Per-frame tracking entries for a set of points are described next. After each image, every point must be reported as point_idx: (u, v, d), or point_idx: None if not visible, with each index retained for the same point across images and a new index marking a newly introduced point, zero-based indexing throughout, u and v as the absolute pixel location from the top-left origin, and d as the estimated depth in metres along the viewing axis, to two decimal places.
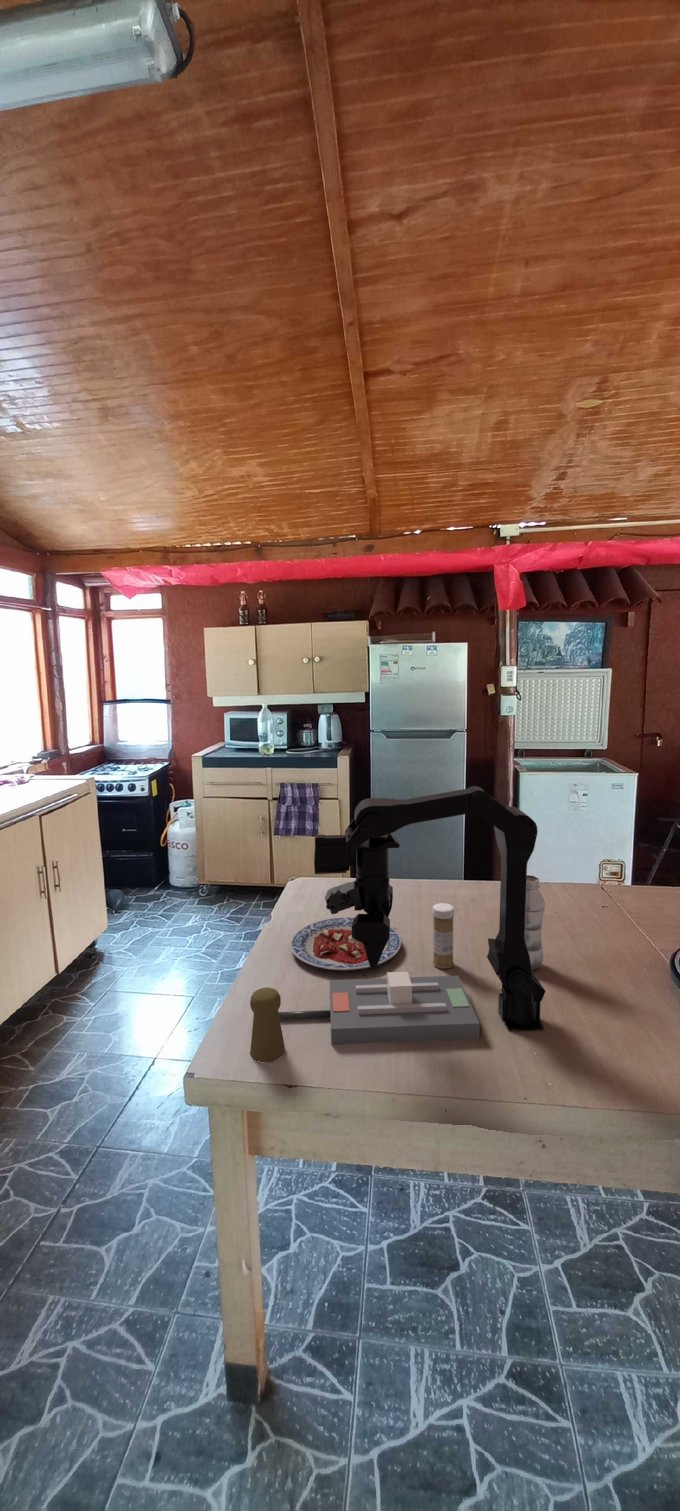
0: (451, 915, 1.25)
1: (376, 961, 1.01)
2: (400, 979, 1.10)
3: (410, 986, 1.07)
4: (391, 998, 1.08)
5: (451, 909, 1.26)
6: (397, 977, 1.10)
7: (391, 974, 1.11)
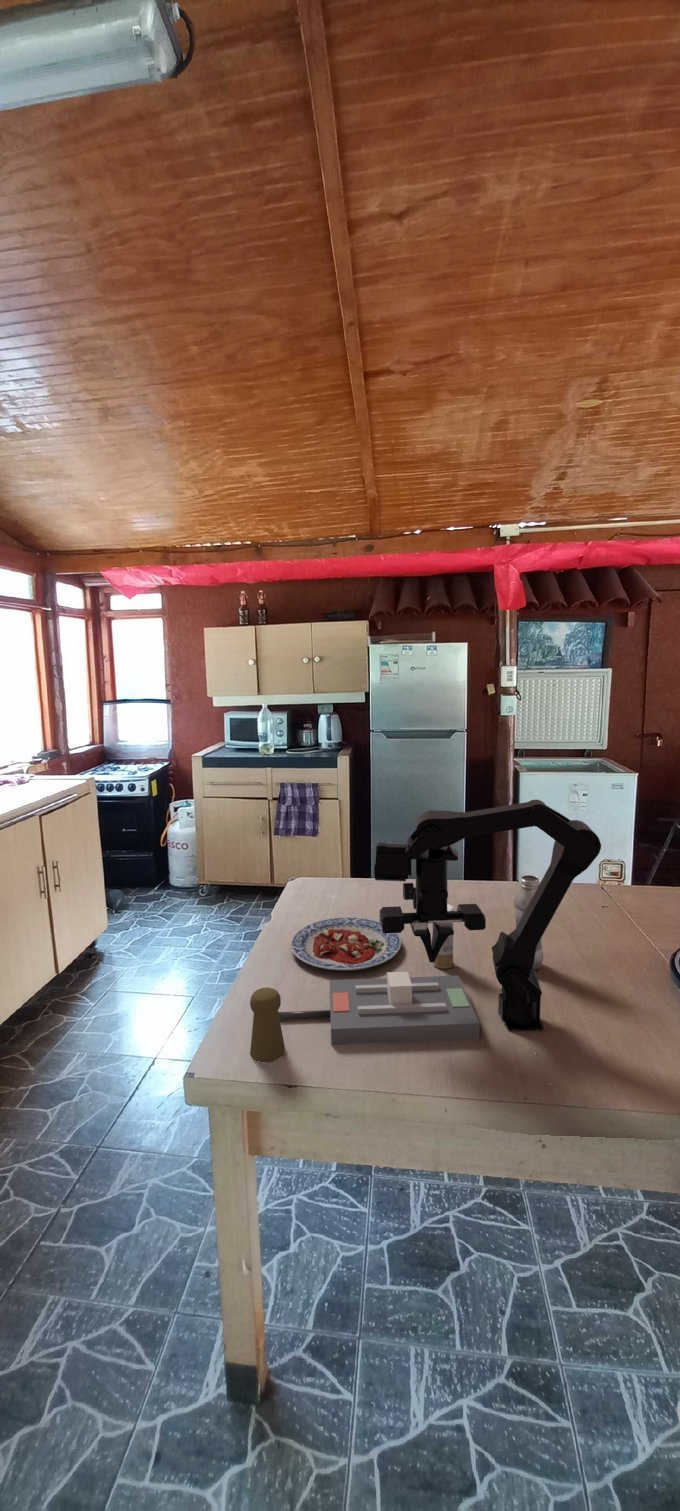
0: None
1: None
2: (400, 979, 1.10)
3: (410, 986, 1.07)
4: (391, 998, 1.08)
5: (451, 909, 1.26)
6: (397, 977, 1.10)
7: (391, 974, 1.11)
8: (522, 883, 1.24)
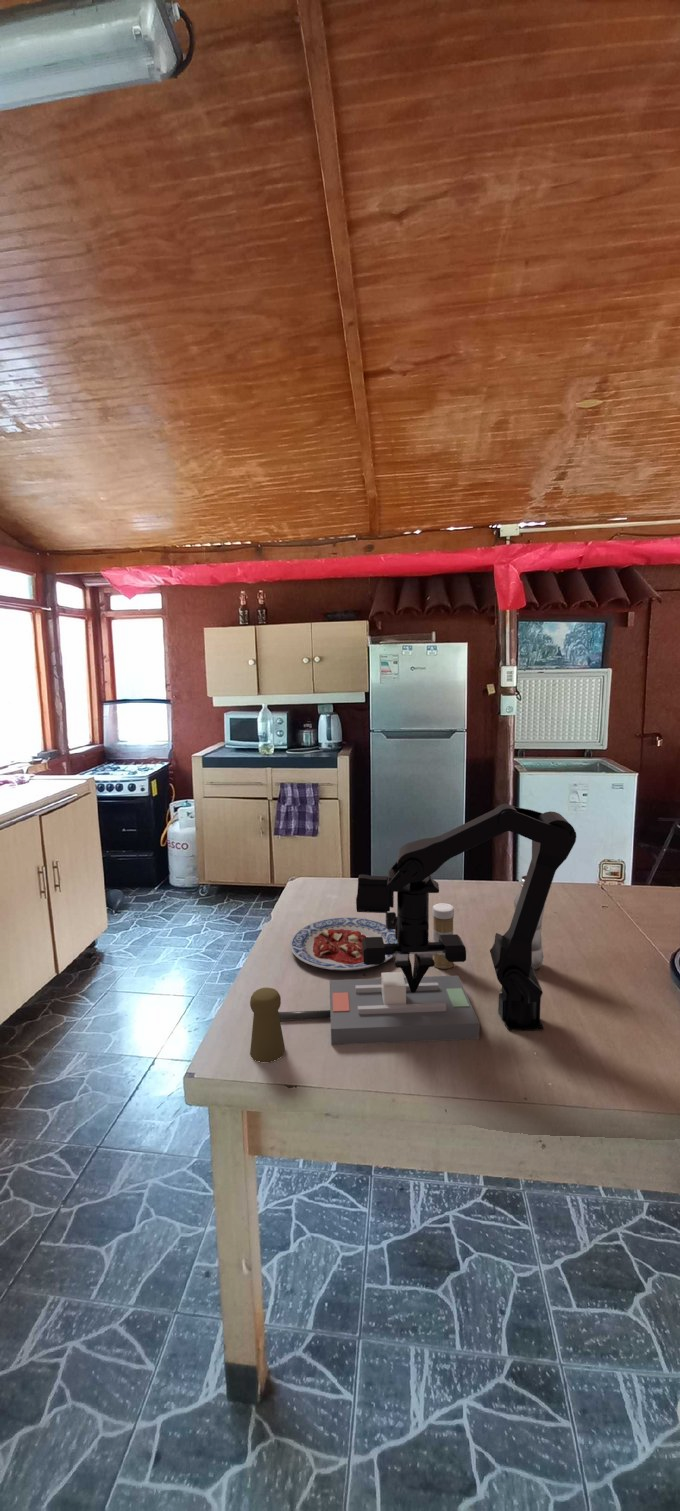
0: (451, 915, 1.25)
1: (409, 986, 1.09)
2: (394, 979, 1.10)
3: (404, 986, 1.07)
4: (385, 998, 1.08)
5: (451, 909, 1.26)
6: (392, 978, 1.10)
7: (385, 974, 1.11)
8: (522, 883, 1.24)
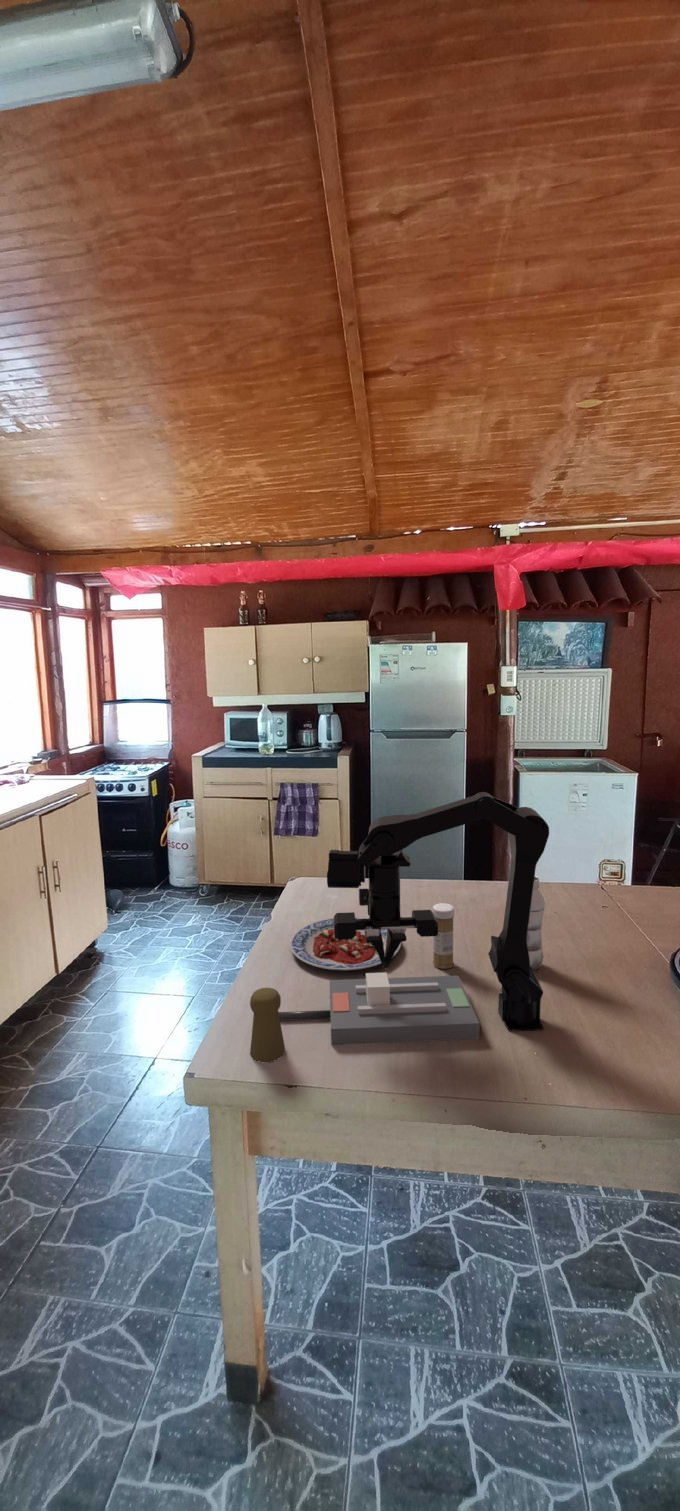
0: (451, 915, 1.25)
1: (381, 962, 1.08)
2: (378, 980, 1.09)
3: (388, 987, 1.07)
4: (369, 999, 1.07)
5: (451, 909, 1.26)
6: (376, 978, 1.10)
7: (370, 975, 1.11)
8: None
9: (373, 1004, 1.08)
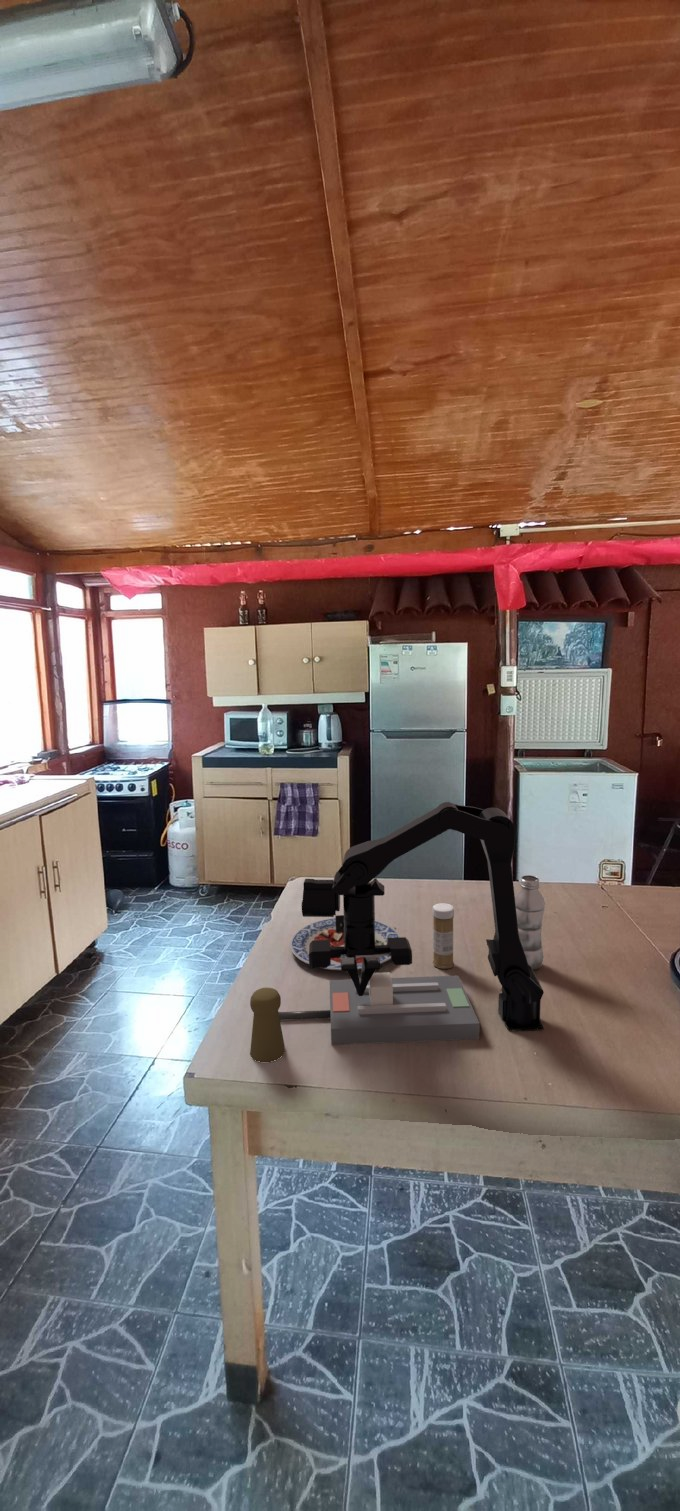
0: (451, 915, 1.25)
1: None
2: (381, 979, 1.09)
3: (391, 987, 1.07)
4: (372, 999, 1.07)
5: (451, 909, 1.26)
6: (379, 978, 1.10)
7: (373, 975, 1.11)
8: (522, 883, 1.24)
9: (376, 1004, 1.08)
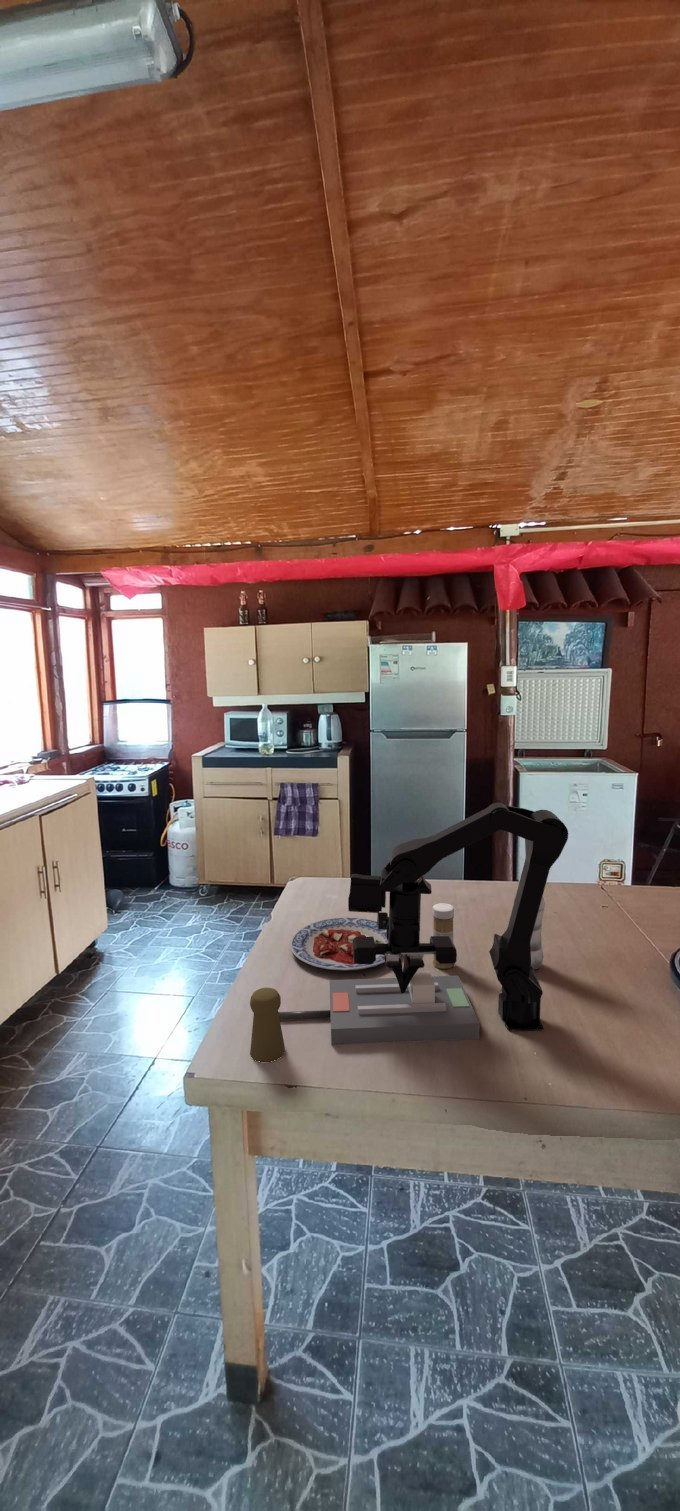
0: (451, 915, 1.25)
1: None
2: (422, 978, 1.10)
3: (433, 985, 1.07)
4: (414, 997, 1.08)
5: (451, 909, 1.26)
6: (420, 977, 1.10)
7: None
8: None
9: (418, 1002, 1.08)
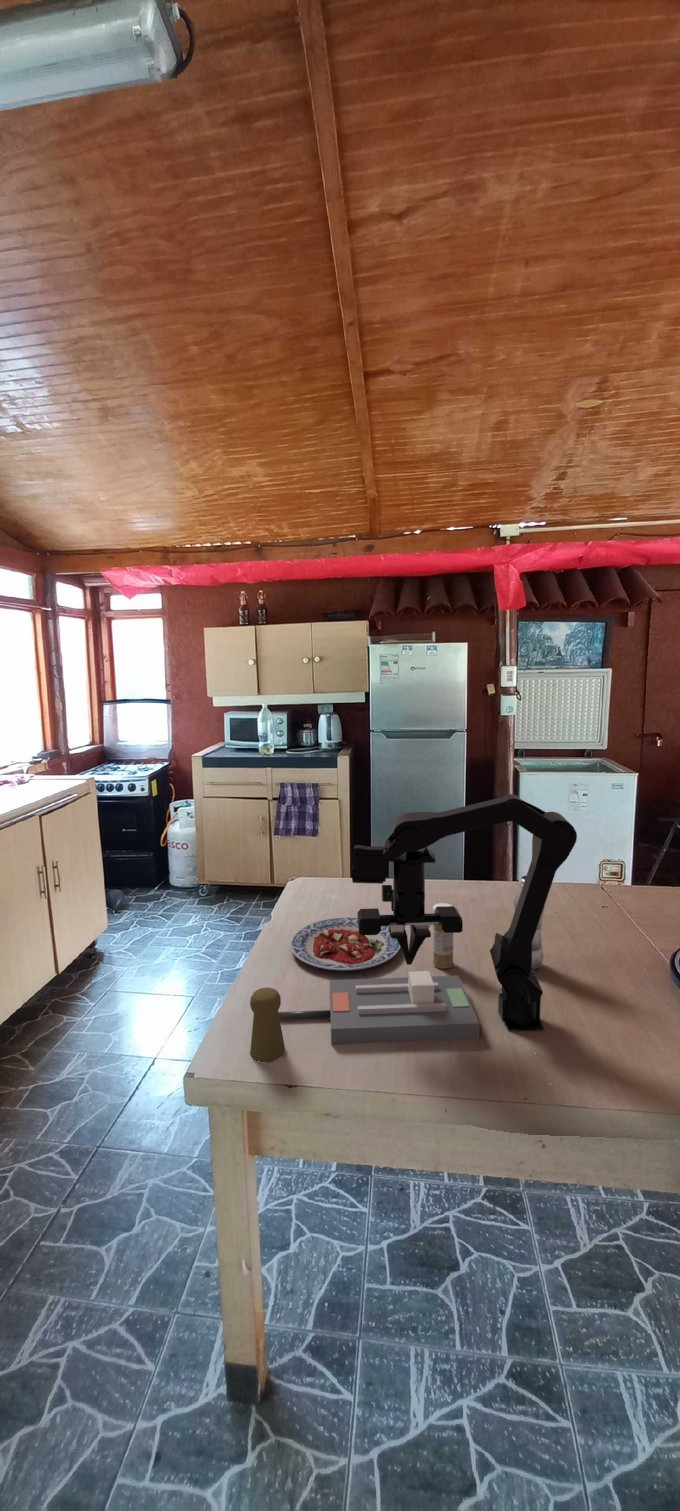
0: None
1: (405, 958, 1.08)
2: (421, 978, 1.10)
3: (432, 985, 1.07)
4: (413, 997, 1.08)
5: None
6: (419, 977, 1.10)
7: (412, 973, 1.11)
8: (522, 883, 1.24)
9: (417, 1002, 1.08)
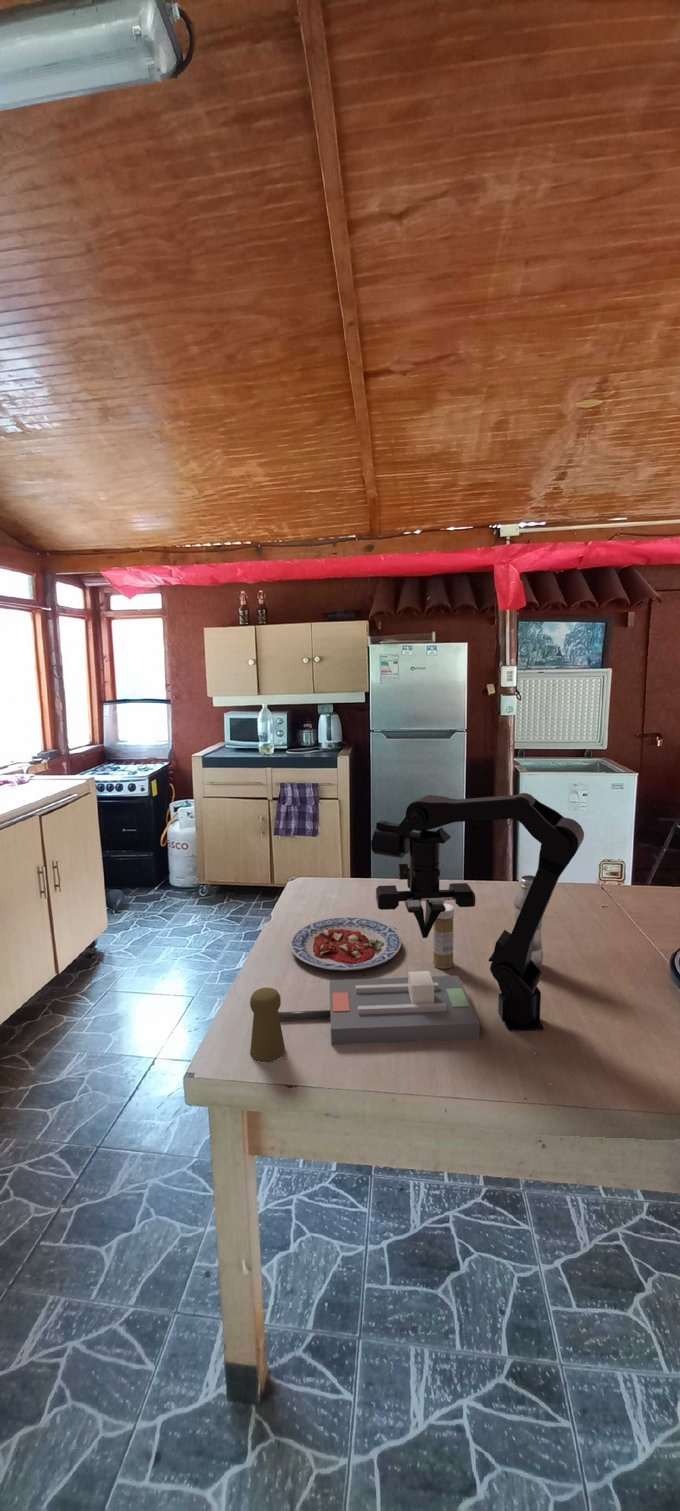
0: (451, 915, 1.25)
1: (421, 932, 1.15)
2: (421, 978, 1.10)
3: (432, 985, 1.07)
4: (413, 997, 1.08)
5: (451, 909, 1.26)
6: (419, 977, 1.10)
7: (412, 973, 1.11)
8: (522, 883, 1.24)
9: (417, 1002, 1.08)
